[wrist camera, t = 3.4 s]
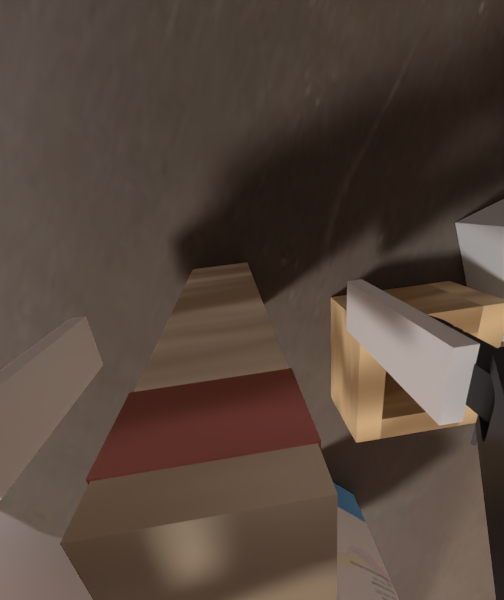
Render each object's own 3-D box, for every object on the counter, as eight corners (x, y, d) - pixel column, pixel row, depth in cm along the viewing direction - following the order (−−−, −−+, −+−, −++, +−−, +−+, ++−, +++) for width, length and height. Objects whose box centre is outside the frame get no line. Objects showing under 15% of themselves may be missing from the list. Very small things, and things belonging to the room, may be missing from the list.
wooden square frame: (330, 297, 19) (361, 323, 15) (449, 280, 19) (511, 302, 15) (331, 397, 22) (356, 442, 18) (433, 381, 23) (480, 421, 18)
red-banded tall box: (192, 268, 17) (54, 541, 3) (247, 261, 18) (341, 490, 4) (201, 319, 19) (132, 671, 5) (253, 312, 19) (338, 628, 5)
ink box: (299, 458, 24) (378, 729, 12) (355, 494, 27) (469, 749, 14) (237, 511, 26) (248, 798, 13) (295, 540, 28) (351, 805, 16)
